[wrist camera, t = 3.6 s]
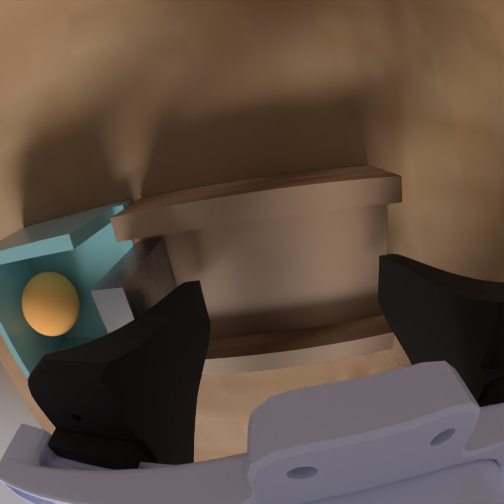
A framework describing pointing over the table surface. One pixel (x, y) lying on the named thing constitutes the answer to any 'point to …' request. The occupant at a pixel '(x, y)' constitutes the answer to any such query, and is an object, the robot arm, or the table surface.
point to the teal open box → (65, 263)
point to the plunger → (134, 284)
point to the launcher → (278, 262)
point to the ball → (50, 303)
